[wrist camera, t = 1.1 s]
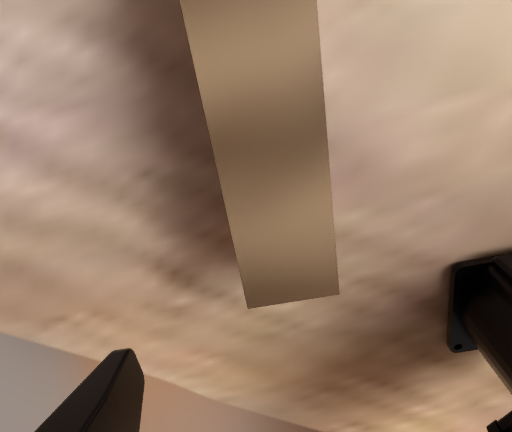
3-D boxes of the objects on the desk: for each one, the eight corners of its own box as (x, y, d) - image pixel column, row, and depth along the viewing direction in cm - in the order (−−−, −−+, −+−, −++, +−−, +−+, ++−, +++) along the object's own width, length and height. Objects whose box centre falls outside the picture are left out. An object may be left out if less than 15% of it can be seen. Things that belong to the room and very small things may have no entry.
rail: (319, 241, 20) (339, 294, 16) (245, 253, 20) (247, 308, 16) (286, -81, 14) (307, -123, 10) (180, -60, 14) (158, -94, 10)
